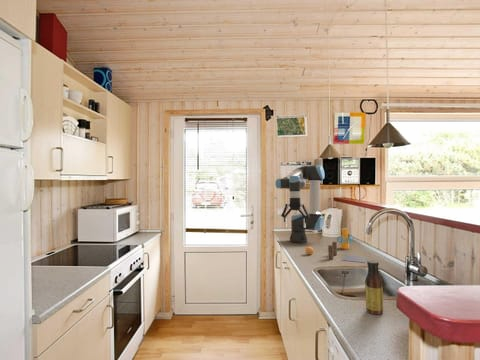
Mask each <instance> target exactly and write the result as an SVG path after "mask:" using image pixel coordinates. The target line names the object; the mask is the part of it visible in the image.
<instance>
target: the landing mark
mask: <svg viewBox="0 0 480 360" xmlns="http://www.w3.org/2000/svg"><path fill="white" fill-rule="evenodd" d="M367 260H368V257H367V256H366V257H365V256H355V255H344V257H343V258H342V259H341V261H345V262H353V263H362V264H363V263H365V264H366V262H367Z"/></svg>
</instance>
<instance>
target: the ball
mask: <svg viewBox="0 0 480 360" xmlns="http://www.w3.org/2000/svg"><path fill="white" fill-rule="evenodd" d="M313 253H314V248H313V247H312V246H307V247H306V248H305V254H307V255H311V256H312V254H313Z"/></svg>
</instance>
